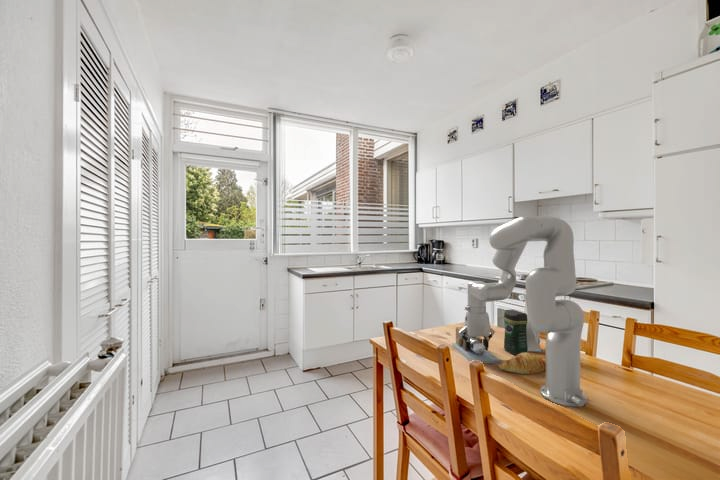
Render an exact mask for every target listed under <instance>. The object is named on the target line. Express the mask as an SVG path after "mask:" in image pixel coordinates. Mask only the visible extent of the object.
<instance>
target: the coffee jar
mask: <svg viewBox="0 0 720 480" xmlns="http://www.w3.org/2000/svg"><path fill="white" fill-rule="evenodd" d="M503 313H504V314H503V320H504V341H503V349H504V351H506V352H508V353H510V354H513V355H515V356H517V355H518V354H520V353H525V352H527V353H529V352H528V347H527V332H526V327H527V322H528V319H527V314H525V313H524V312H522V311H519V310H515V309H505V311H504V312H503Z"/></svg>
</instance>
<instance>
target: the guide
mask: <svg viewBox="0 0 720 480" xmlns="http://www.w3.org/2000/svg"><path fill="white" fill-rule="evenodd" d="M477 340H478V341H479V342H480V343H482V344H483V338H482V337H477ZM463 349H464V350H465V351H468V350H467V349H466V348H465V340H464V339H463Z"/></svg>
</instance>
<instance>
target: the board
mask: <svg viewBox="0 0 720 480" xmlns="http://www.w3.org/2000/svg"><path fill="white" fill-rule="evenodd" d="M451 346H452V347H453V348H454V349H455V350H457V351H458V352H459V353H460V354H461V355H462V356H463V357H464V358H465V359H466V360H467V361H469V362H470V361H472V360H479V361H481V362H483V363H484V364H498V363H499V364H502V360H501V359H500V358H499V357H497V356H496V355H494V354H493V353H491V351H489V350H486V351H485V353H484V354H482V355H478V354H476V353H475V352H474V351H473V350H471V351H465V350H464V349H463V344H462V346H458V345H457V344H456V342H453V343H451Z"/></svg>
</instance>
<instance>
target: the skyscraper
mask: <svg viewBox="0 0 720 480" xmlns="http://www.w3.org/2000/svg"><path fill="white" fill-rule="evenodd" d="M522 295H523V298H524V302H525V304H524V310H523V313H525V314H527V319H528V313H527V299H526V291H524V292H523V294H522ZM526 332H527V347H528V353H543V354H546V350H544V349H543V348H542V347H541V346H540V343H541V339H540V334H541V333H540V332H538V331H536V330H535V329H534V328H533V327H532V326H531V324H530V322H529V319H528V322H527V327H526Z"/></svg>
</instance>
